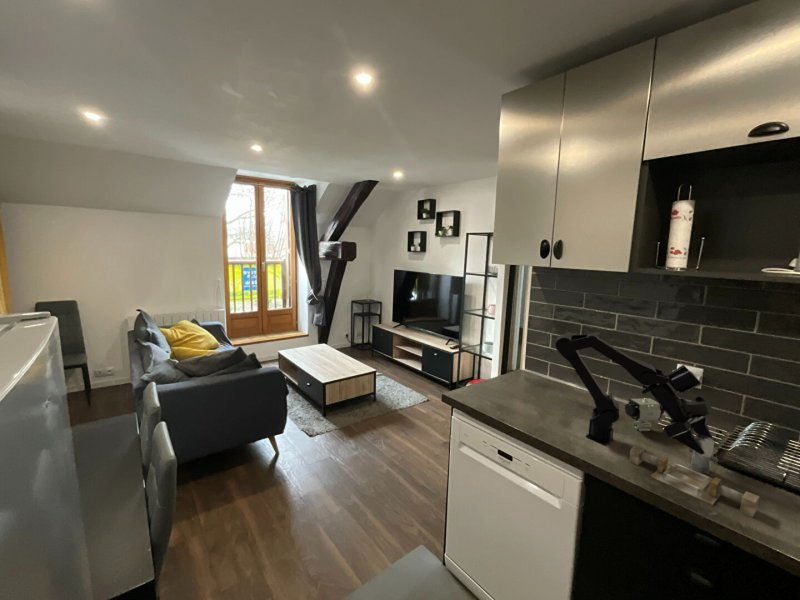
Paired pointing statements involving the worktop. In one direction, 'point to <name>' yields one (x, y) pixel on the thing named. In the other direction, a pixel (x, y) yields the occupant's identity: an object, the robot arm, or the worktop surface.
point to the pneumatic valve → (643, 412)
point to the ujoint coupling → (703, 455)
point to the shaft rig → (694, 482)
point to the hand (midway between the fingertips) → (708, 448)
